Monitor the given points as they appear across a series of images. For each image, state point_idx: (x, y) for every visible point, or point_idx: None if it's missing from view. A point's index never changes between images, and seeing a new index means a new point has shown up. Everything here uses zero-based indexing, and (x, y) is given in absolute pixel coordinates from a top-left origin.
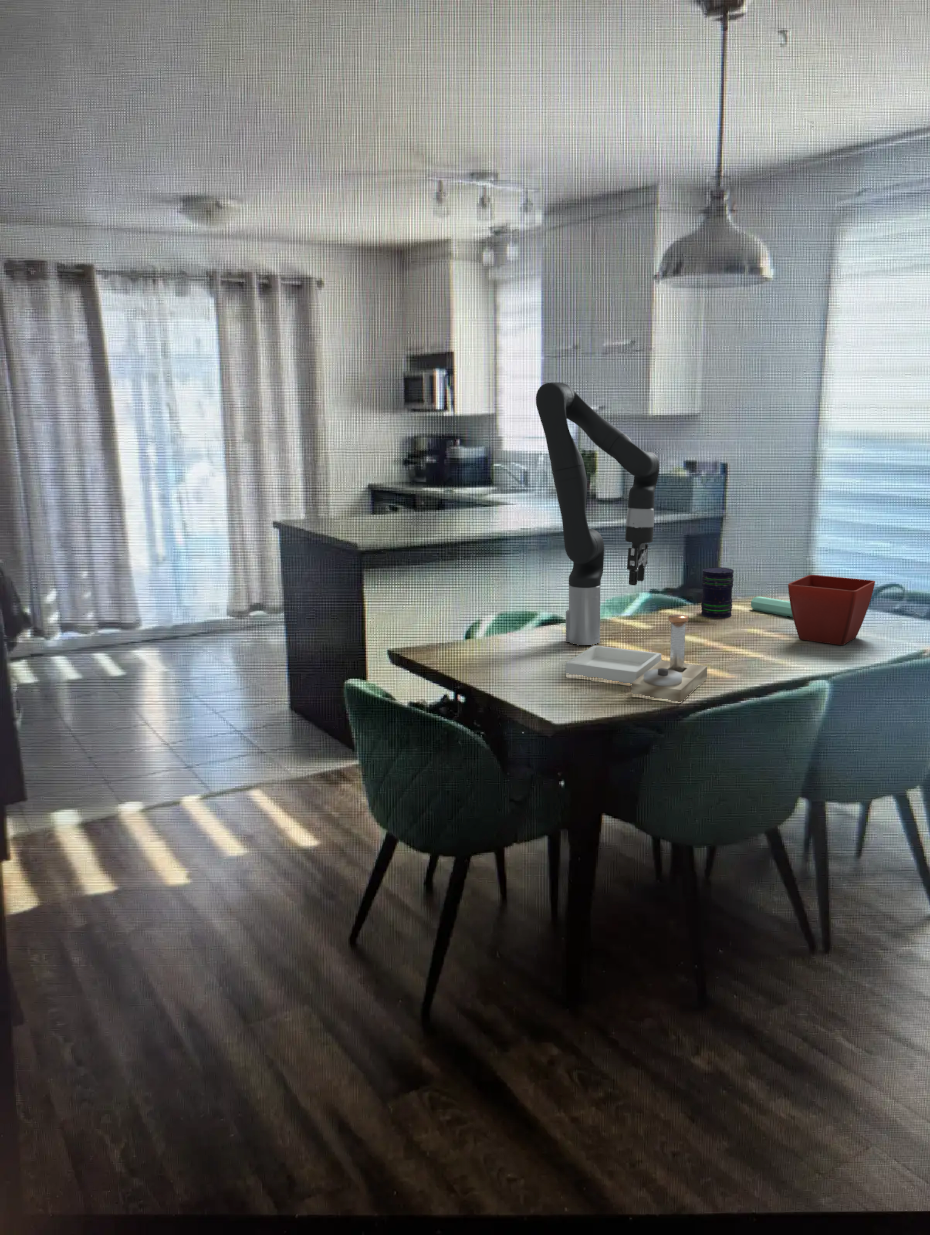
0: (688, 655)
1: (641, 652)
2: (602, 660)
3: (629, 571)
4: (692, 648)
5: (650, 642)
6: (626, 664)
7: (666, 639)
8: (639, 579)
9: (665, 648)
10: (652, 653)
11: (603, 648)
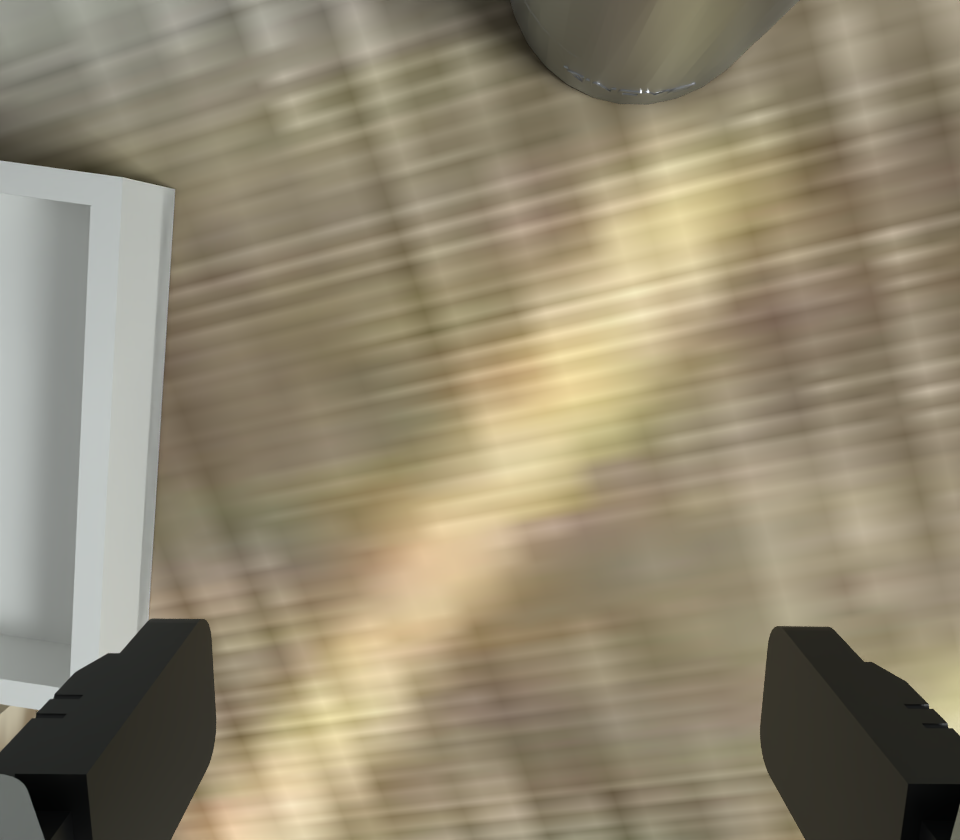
0: (502, 782)
1: (75, 581)
2: (67, 282)
3: (25, 775)
4: (692, 785)
5: (785, 487)
6: (41, 466)
7: (907, 584)
8: (775, 700)
9: (640, 617)
10: (71, 661)
11: (93, 272)
